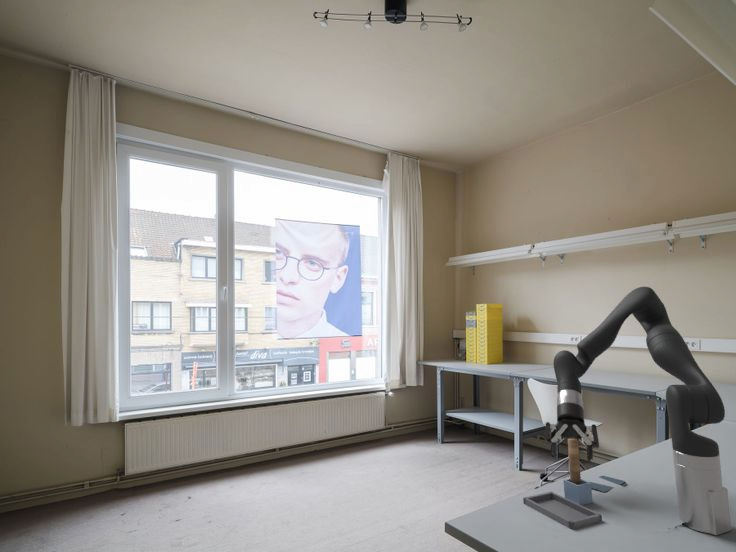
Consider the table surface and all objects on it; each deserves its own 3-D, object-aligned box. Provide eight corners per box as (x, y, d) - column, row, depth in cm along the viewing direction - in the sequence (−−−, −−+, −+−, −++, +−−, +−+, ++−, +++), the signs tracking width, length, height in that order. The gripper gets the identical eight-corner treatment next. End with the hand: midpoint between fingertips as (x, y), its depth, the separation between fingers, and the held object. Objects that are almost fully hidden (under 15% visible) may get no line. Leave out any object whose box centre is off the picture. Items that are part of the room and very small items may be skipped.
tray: (602, 525, 105) (601, 514, 105) (572, 533, 101) (571, 522, 101) (551, 500, 120) (551, 491, 120) (523, 507, 116) (523, 497, 116)
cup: (592, 506, 116) (591, 483, 116) (579, 509, 114) (577, 485, 114) (578, 499, 120) (576, 477, 121) (565, 502, 118) (563, 479, 119)
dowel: (584, 501, 116) (580, 440, 118) (577, 503, 115) (573, 441, 117) (576, 497, 119) (572, 438, 120) (569, 499, 118) (565, 439, 119)
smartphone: (627, 481, 130) (605, 492, 121) (628, 487, 130) (605, 498, 121) (601, 474, 136) (578, 484, 127) (602, 480, 136) (579, 490, 127)
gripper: (597, 416, 131) (601, 467, 120) (547, 414, 138) (547, 462, 127) (594, 402, 127) (599, 454, 116) (543, 400, 134) (543, 449, 123)
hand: (572, 458), depth 122 cm, fingers open, 8 cm apart
